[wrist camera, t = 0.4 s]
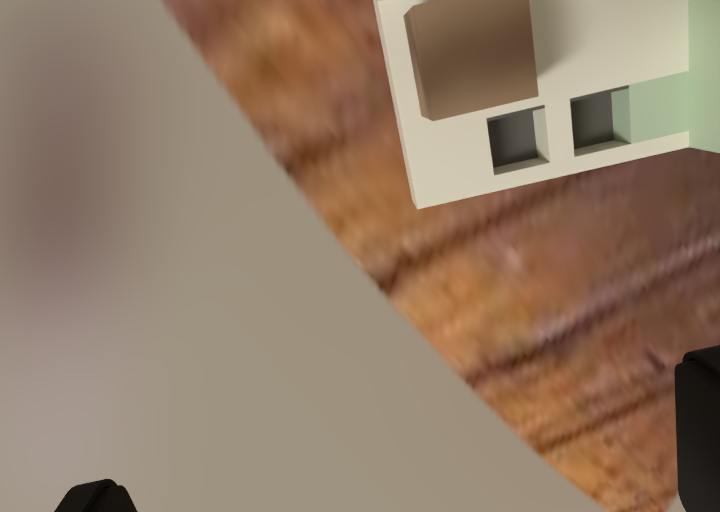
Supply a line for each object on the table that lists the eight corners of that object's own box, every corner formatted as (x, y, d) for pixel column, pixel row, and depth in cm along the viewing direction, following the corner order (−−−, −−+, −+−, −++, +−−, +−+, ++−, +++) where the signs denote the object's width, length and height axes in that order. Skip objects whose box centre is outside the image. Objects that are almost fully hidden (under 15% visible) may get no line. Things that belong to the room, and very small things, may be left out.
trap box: (370, -11, 30) (377, -31, 24) (676, -87, 29) (750, -124, 24) (412, 200, 34) (425, 222, 29) (679, 138, 33) (742, 149, 28)
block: (403, 15, 28) (413, 5, 24) (501, -9, 28) (526, -23, 24) (421, 116, 30) (433, 121, 26) (513, 94, 29) (538, 96, 26)
